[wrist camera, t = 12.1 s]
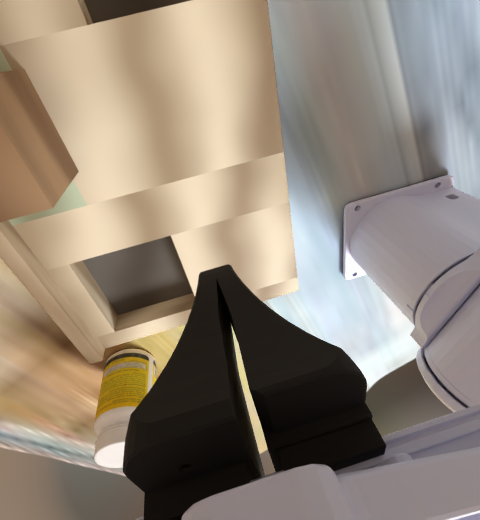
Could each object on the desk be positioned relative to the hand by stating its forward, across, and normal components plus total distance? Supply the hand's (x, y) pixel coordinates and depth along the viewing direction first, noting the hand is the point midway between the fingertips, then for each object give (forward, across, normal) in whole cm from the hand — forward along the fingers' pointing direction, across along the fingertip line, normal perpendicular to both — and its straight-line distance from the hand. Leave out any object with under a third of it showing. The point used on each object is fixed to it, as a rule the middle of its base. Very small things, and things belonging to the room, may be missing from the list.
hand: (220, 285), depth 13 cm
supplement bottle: (+11, +11, +15) cm, 21 cm away
